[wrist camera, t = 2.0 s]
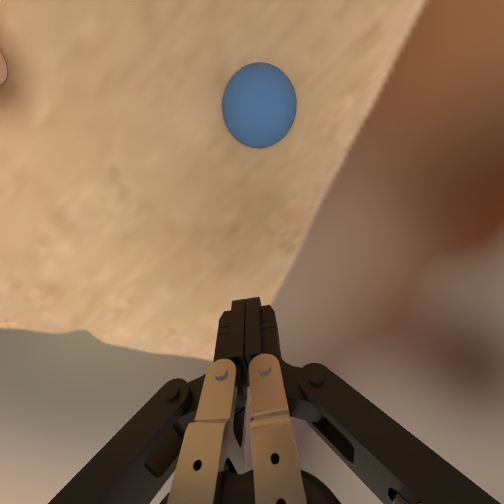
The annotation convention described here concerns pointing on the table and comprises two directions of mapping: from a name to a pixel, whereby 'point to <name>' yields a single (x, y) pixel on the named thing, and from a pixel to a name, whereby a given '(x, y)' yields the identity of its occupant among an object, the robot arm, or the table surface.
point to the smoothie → (2, 69)
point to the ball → (259, 105)
